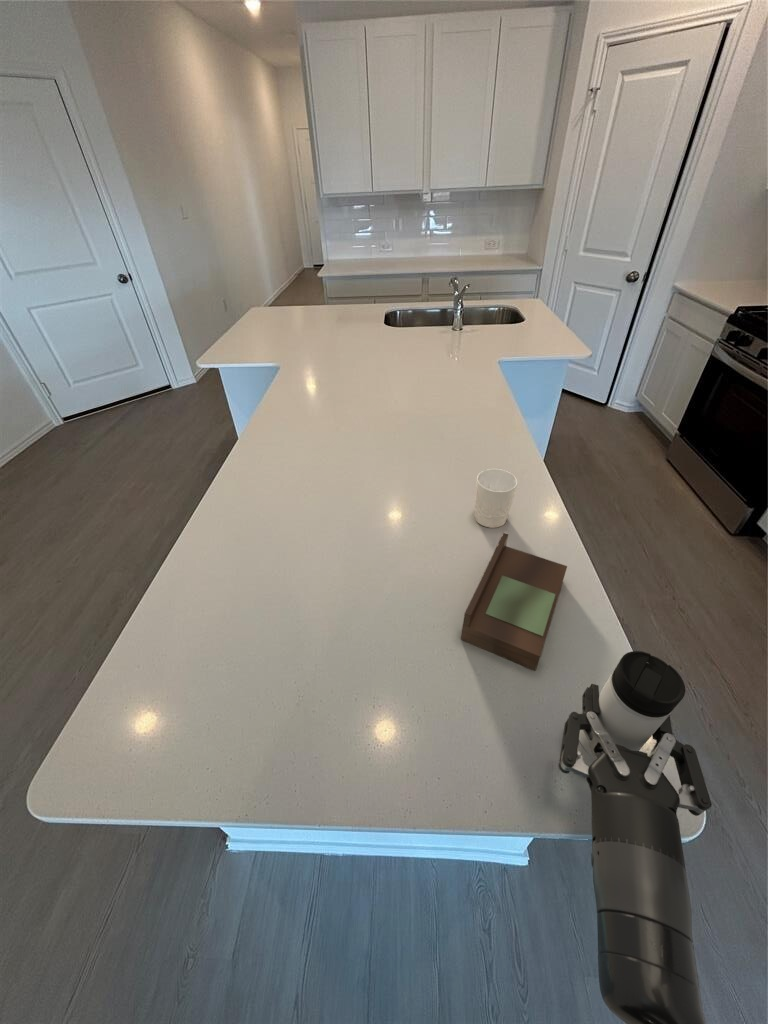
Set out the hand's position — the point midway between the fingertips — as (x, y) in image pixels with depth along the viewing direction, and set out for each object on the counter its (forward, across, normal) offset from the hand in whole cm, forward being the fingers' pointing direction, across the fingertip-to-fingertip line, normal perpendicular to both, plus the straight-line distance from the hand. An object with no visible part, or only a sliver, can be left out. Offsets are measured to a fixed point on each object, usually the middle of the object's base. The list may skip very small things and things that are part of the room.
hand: (623, 696), depth 52 cm
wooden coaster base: (+18, +13, +11) cm, 25 cm away
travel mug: (-2, 0, +11) cm, 11 cm away
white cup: (+41, +20, +11) cm, 47 cm away
